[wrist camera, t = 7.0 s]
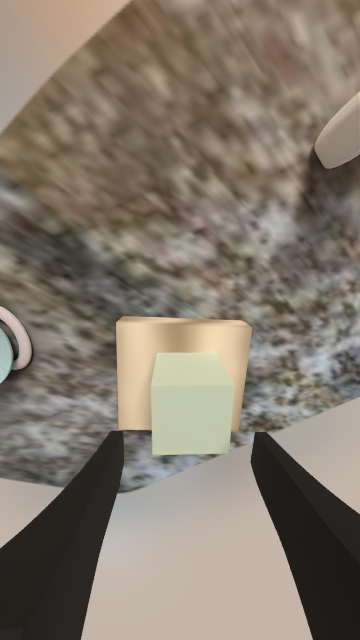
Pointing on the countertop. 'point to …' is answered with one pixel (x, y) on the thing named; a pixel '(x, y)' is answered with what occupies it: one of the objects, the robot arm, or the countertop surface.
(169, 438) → the green cube
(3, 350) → the pacifier
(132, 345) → the block
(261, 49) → the countertop surface
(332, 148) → the eye dropper bottle
